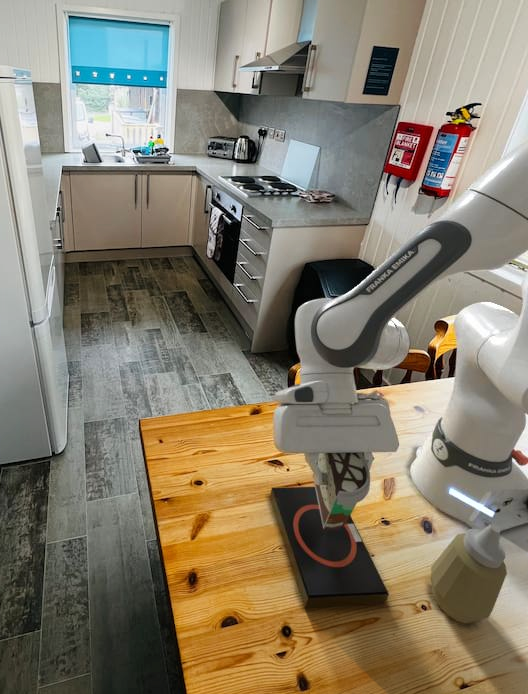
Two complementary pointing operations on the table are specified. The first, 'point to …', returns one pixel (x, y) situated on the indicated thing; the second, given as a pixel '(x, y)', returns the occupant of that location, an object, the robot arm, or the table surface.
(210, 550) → the table surface
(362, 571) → the hob
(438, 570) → the squeeze bottle
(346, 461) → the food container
